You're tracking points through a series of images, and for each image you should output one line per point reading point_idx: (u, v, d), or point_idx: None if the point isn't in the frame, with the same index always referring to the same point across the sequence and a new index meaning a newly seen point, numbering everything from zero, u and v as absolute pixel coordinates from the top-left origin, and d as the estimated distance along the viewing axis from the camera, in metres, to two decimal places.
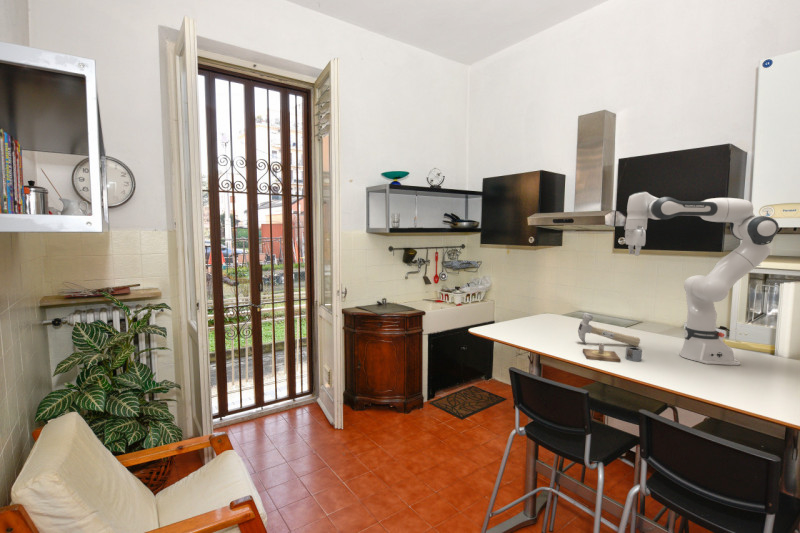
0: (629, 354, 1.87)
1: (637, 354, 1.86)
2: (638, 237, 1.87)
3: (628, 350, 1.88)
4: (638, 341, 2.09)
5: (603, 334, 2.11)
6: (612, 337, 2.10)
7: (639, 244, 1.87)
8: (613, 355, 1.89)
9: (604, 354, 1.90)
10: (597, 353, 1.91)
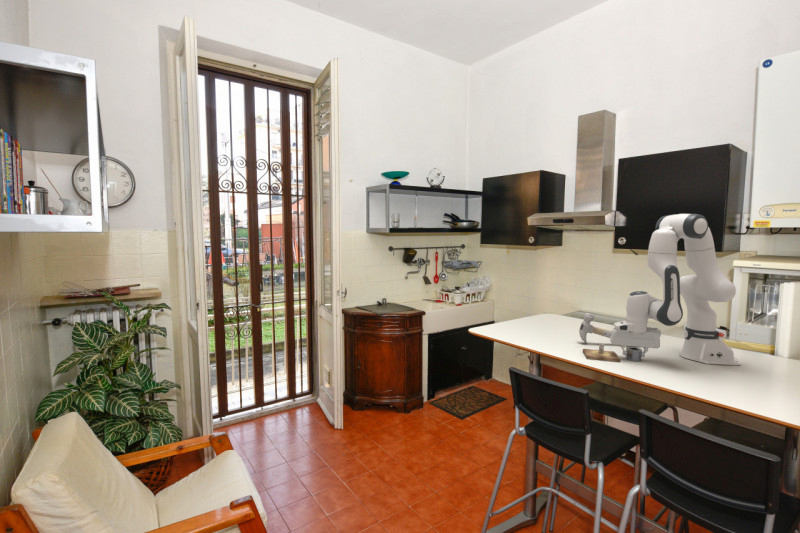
0: (629, 354, 1.87)
1: (637, 354, 1.86)
2: (659, 340, 1.84)
3: (628, 350, 1.88)
4: None
5: (604, 334, 2.11)
6: None
7: None
8: (613, 355, 1.89)
9: (604, 354, 1.90)
10: (597, 353, 1.91)
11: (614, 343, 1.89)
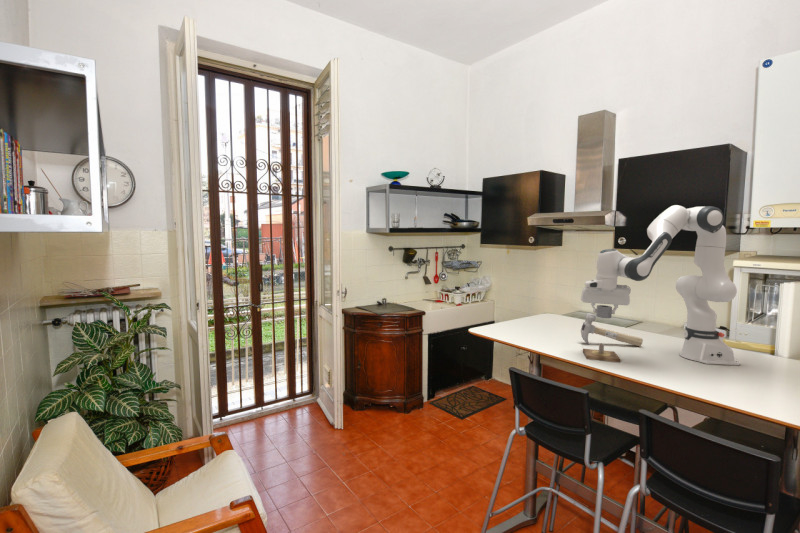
0: (599, 311, 1.88)
1: (607, 311, 1.87)
2: (629, 297, 1.85)
3: (598, 307, 1.89)
4: (641, 341, 2.09)
5: (606, 334, 2.10)
6: (615, 337, 2.10)
7: None
8: (613, 355, 1.89)
9: (604, 354, 1.90)
10: (597, 353, 1.91)
11: (584, 301, 1.90)
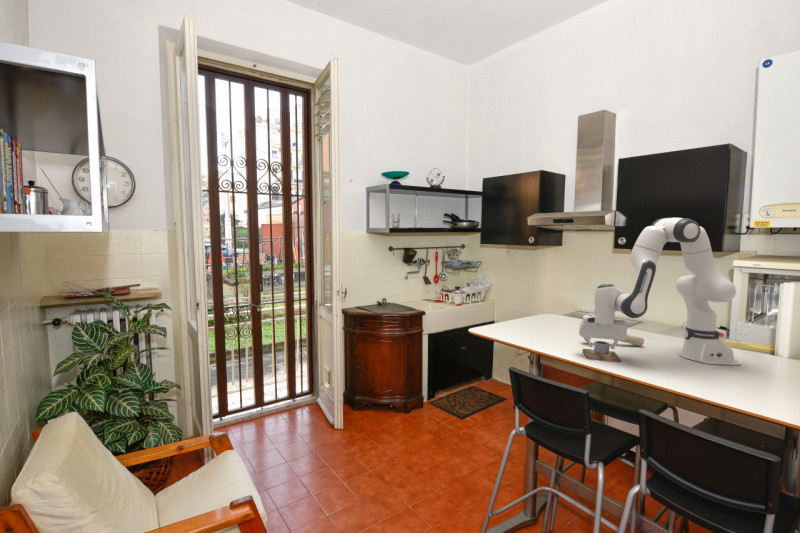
0: (597, 348, 1.90)
1: (604, 348, 1.88)
2: (626, 332, 1.87)
3: (596, 344, 1.90)
4: (642, 341, 2.09)
5: None
6: None
7: None
8: (613, 355, 1.89)
9: None
10: None
11: (582, 335, 1.91)
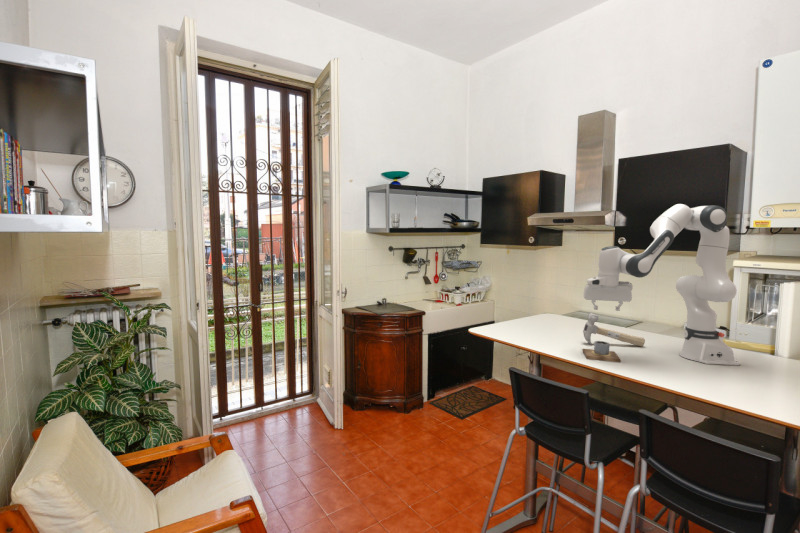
0: (597, 348, 1.90)
1: (604, 348, 1.88)
2: None
3: (596, 344, 1.90)
4: (643, 341, 2.09)
5: (608, 335, 2.10)
6: (617, 337, 2.10)
7: None
8: (613, 355, 1.89)
9: None
10: None
11: (587, 298, 1.92)
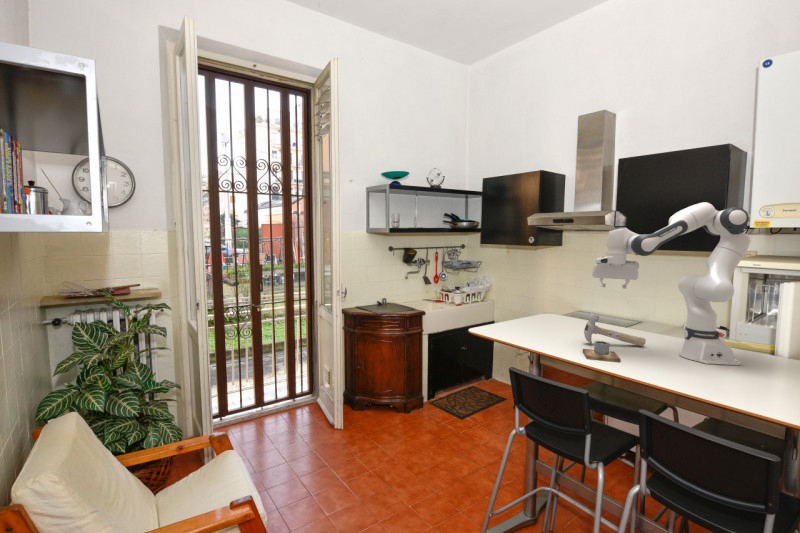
0: (597, 348, 1.90)
1: (604, 348, 1.88)
2: (637, 272, 1.98)
3: (596, 344, 1.90)
4: (644, 341, 2.09)
5: (609, 335, 2.10)
6: (618, 338, 2.10)
7: None
8: (613, 355, 1.89)
9: None
10: None
11: (595, 276, 2.02)
